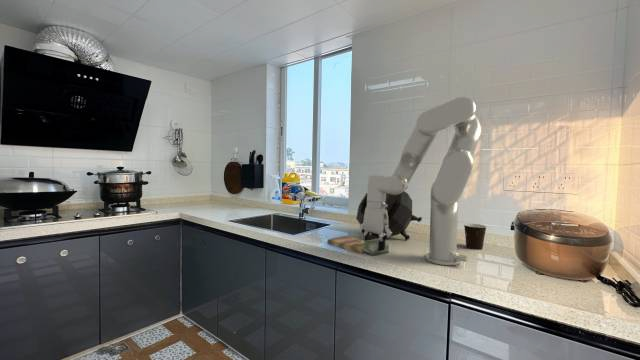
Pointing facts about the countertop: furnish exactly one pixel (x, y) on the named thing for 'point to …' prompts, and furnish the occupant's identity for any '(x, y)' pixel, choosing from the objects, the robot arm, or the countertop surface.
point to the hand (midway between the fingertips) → (374, 247)
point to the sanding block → (375, 247)
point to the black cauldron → (393, 213)
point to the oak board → (348, 243)
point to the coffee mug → (474, 236)
